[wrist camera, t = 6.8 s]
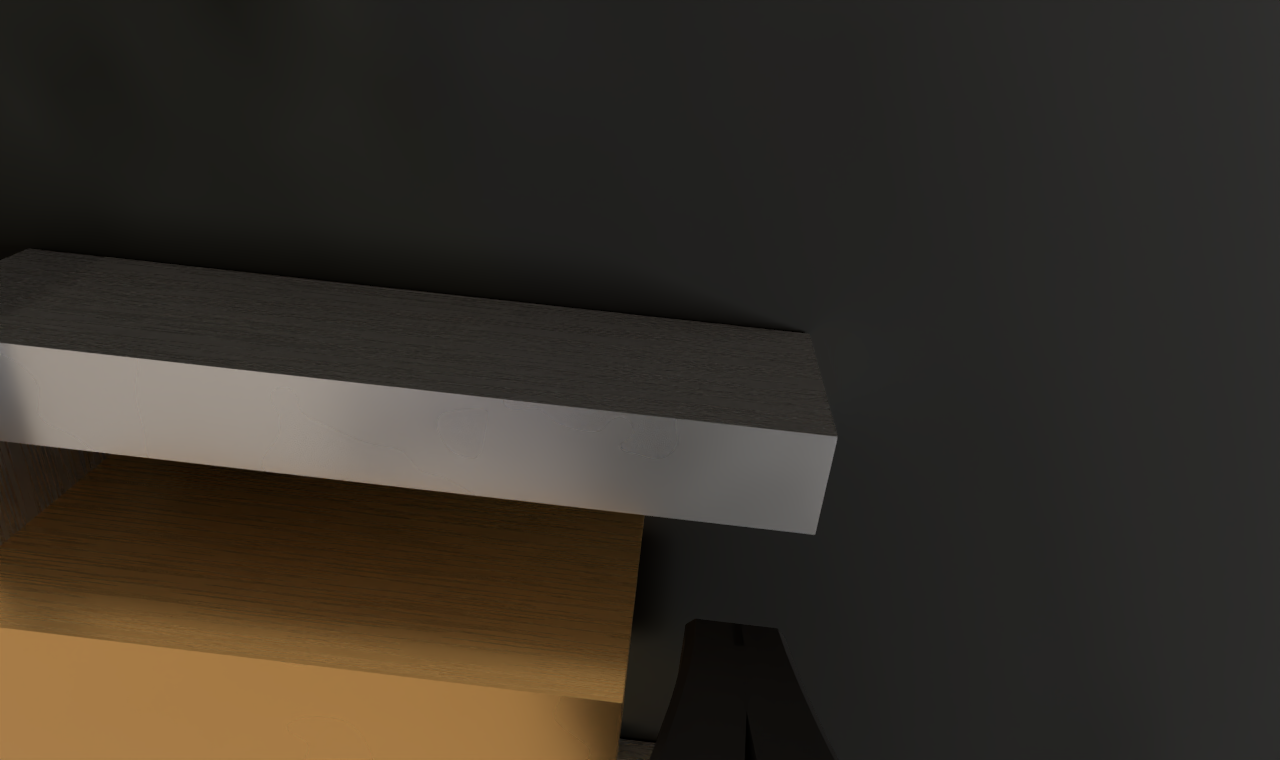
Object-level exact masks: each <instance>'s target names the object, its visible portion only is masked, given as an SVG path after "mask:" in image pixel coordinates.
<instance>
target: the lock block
mask: <svg viewBox="0 0 1280 760" xmlns="http://www.w3.org/2000/svg"><path fill="white" fill-rule="evenodd" d="M643 522H644V515H639V514H631V513H622V512H613V511H605V510H596V509H587V508H579V507H570V506H561V505H553V504H544V503H535V502H526V501H518V500H509V499H500V498H492V497H483V496H474V495H466V494H457V493H448V492H440V491H431V490H422V489H414V488H405V487H396V486H388V485H379V484H370V483H361V482H353V481H344V480H335V479H327V478H318V477H309V476H301V475H292V474H283V473H275V472H266V471H257V470H249V469H240V468H231V467H223V466H214V465H205V464H196V463H188V462H179V461H170V460H162V459H153V458H144V457H136V456H127V455H118V454H111V455H110V456H108V457H107V458H106V459H105V460H104V461H102V462H101V463H100V464H99V465H97V466H96V467H95V468H94V469H93V470H91V471H90V472H89V473H88V474H87V475H85V476H84V477H83V478H82V479H81V480H79V481H78V482H77V483H76V484H74V485H73V486H72V487H71V488H70V489H68V490H67V491H66V492H65V493H64V494H62V495H61V496H60V497H59V498H58V499H56V500H55V501H54V502H53V503H51V504H50V505H49V506H48V507H47V508H45V509H44V510H43V511H42V512H41V513H39V514H38V515H37V516H36V517H35V518H33V519H32V520H31V521H30V522H28V523H27V524H26V525H25V526H24V527H22V528H21V529H20V530H19V531H18V532H16V533H15V534H14V535H13V536H12V537H10V538H9V539H8V540H7V541H5V542H4V543H3V544H2V545H1V546H0V760H617V757H618V748H619V740H620V731H621V722H622V713H623V704H624V695H625V686H626V677H627V668H628V659H629V649H630V640H631V631H632V622H633V613H634V604H635V595H636V586H637V577H638V568H639V559H640V550H641V541H642V532H643Z"/></svg>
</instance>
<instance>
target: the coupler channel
mask: <svg viewBox="0 0 1280 760" xmlns="http://www.w3.org/2000/svg"><path fill="white" fill-rule="evenodd" d="M837 437H838V436H837V432H836V429H835V425H834V422H833V418H832V414H831V411H830V407H829V403H828V400H827V396H826V393H825V389H824V385H823V382H822V378H821V374H820V371H819V367H818V364H817V360H816V356H815V353H814V349H813V345H812V342H811V338H810V335H809V334H806V333H797V332H788V331H779V330H770V329H761V328H751V327H742V326H733V325H724V324H715V323H706V322H696V321H687V320H678V319H669V318H660V317H651V316H641V315H632V314H623V313H614V312H605V311H596V310H586V309H577V308H568V307H559V306H550V305H541V304H531V303H522V302H513V301H504V300H495V299H486V298H476V297H467V296H458V295H449V294H440V293H431V292H421V291H412V290H403V289H394V288H385V287H376V286H367V285H357V284H348V283H339V282H330V281H321V280H312V279H302V278H293V277H284V276H275V275H266V274H257V273H247V272H238V271H229V270H220V269H211V268H202V267H192V266H183V265H174V264H165V263H156V262H147V261H137V260H128V259H119V258H110V257H101V256H92V255H82V254H73V253H64V252H55V251H46V250H37V249H26V250H24V251H21V252H19V253H17V254H14V255H12V256H9V257H7V258H5V259H2V260H0V546H1V545H2V544H3V543H4V542H5V541H7V540H8V539H9V538H10V537H12V536H13V535H14V534H15V533H16V532H18V531H19V530H20V529H21V528H22V527H24V526H25V525H26V524H27V523H28V522H30V521H31V520H32V519H33V518H35V517H36V516H37V515H38V514H39V513H41V512H42V511H43V510H44V509H45V508H47V507H48V506H49V505H50V504H51V503H53V502H54V501H55V500H56V499H58V498H59V497H60V496H61V495H62V494H64V493H65V492H66V491H67V490H68V489H70V488H71V487H72V486H73V485H74V484H76V483H77V482H78V481H79V480H81V479H82V478H83V477H84V476H85V475H87V474H88V473H89V472H90V471H91V470H93V469H94V468H95V467H96V466H97V465H99V464H100V463H101V462H102V461H104V460H105V459H106V458H107V457H108V456H110V455H111V454H118V455H127V456H136V457H144V458H153V459H162V460H170V461H179V462H188V463H196V464H205V465H214V466H223V467H231V468H240V469H249V470H257V471H266V472H275V473H283V474H292V475H301V476H309V477H318V478H327V479H335V480H344V481H353V482H361V483H370V484H379V485H388V486H396V487H405V488H414V489H422V490H431V491H440V492H448V493H457V494H466V495H474V496H483V497H492V498H500V499H509V500H518V501H526V502H535V503H544V504H553V505H561V506H570V507H579V508H587V509H596V510H605V511H613V512H622V513H631V514H639V515H648V516H657V517H665V518H674V519H683V520H691V521H700V522H709V523H718V524H726V525H735V526H744V527H752V528H761V529H770V530H778V531H787V532H796V533H804V534H813V535H815V533H816V528H817V524H818V520H819V515H820V511H821V507H822V502H823V498H824V494H825V489H826V485H827V481H828V476H829V472H830V468H831V463H832V459H833V455H834V450H835V446H836V442H837ZM654 746H655V743H651V742H642V741H634V740H626V739H620V740H619V748H618V757H617V760H649V758H650V756H651V753H652V751H653V748H654Z"/></svg>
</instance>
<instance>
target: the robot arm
mask: <svg viewBox="0 0 1280 760" xmlns="http://www.w3.org/2000/svg"><path fill="white" fill-rule="evenodd" d="M649 760H838V758H837V756H836V754H835V752H834V750H833V748H832V746H831V744H830V742H829V740H828V738H827V736H826V734H825V732H824V730H823V728H822V726H821V724H820V721H819V719H818V717H817V715H816V713H815V710H814V708H813V706H812V704H811V702H810V699H809V697H808V695H807V693H806V690H805V688H804V686H803V683H802V681H801V679H800V676H799V674H798V671H797V669H796V666H795V664H794V661H793V659H792V656H791V653H790V651H789V648H788V645H787V643H786V640H785V637H784V635H783V634H782V633H781V632H780V631H779V630H778V629H777V628H768V627H760V626H751V625H743V624H735V623H726V622H718V621H709V620H701V619H694V620H693V621H691V622H689V623H687V624H686V626H685V633H684V640H683V646H682V653H681V660H680V666H679V673H678V678H677V681H676V685H675V688H674V692H673V695H672V698H671V702H670V705H669V707H668V710H667V713H666V716H665V718H664V721H663V724H662V727H661V729H660V732H659V735H658V737H657V740H656V743H655V746H654V748H653V751H652V753H651V756H650V758H649Z"/></svg>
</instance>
